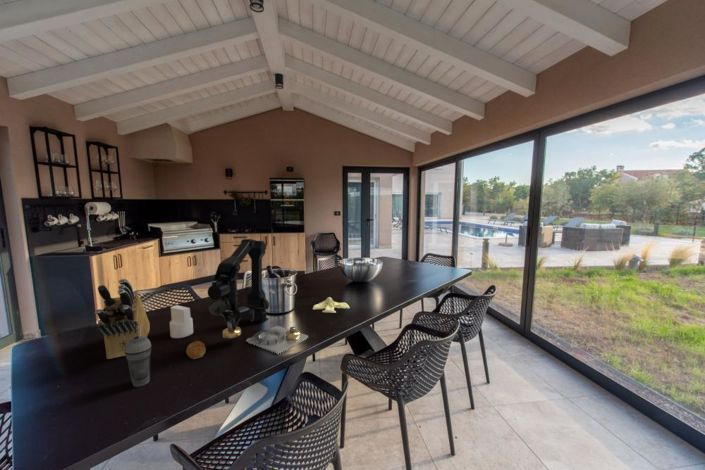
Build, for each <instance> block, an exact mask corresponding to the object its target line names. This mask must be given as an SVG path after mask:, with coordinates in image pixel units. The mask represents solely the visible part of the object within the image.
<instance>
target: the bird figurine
mask: <svg viewBox="0 0 705 470" xmlns="http://www.w3.org/2000/svg"><path fill="white" fill-rule="evenodd" d="M335 308H337V309H350V308H351V307H350V306H349V304H348V303H346V302H337V301H334V300H333V298H332V297H330V296H329V297H326V299H325V300H323V301H322V302H319V303H318V304H316V303H315V304H314V305H313V307H312V310H315V311H316V310H322V313H329V314H330V313H333V314H334V313H337V311H336V310H335Z"/></svg>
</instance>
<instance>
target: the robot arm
mask: <svg viewBox="0 0 705 470" xmlns="http://www.w3.org/2000/svg"><path fill="white" fill-rule="evenodd" d="M266 250H267V244H266V243H265V241H264V240H255V239H252V238H244V239H241V241H240V244H239V245H238V247H237V248H236V249H235V250H234V252H232V254H231V255H230V256H229V257H227V258H225V259H223V260H222V261H221V262H219V264H218V266H217V269H216V271H215V273H214V274H215V275H214V277H213V281H212V282H211V286H209V287H208V288H207V289H208V290H207V296H208V297H209V298H210V299H211V300H212V301H215V302H213V303H212V304H211V305H209V306H208V310H209V312H210V314H211V315H214V316H215V317H218V316H222V317H223V319H224V322H225V324H226V326H227V328H228V322H227V321H228V320H231V322H232V328H233V330H235V329H236V327H238V326H239V323H240V320H241V319H242V318H245V317H247V316H250V315H251V314H252V319H250V320H249V321H250V322H252V323H254V324H257V325H258V324H261V323H264V322H267V321H269V318H268V317H267V311H266V310H269V308H270V302H269V300H268V299H267V298H266V297H267V296H266V292H265V291H264V289H263V258H264V256H265V255H266ZM247 255H248V256H249V258H250V259H251V261H250V262H251V264H250V265H251V268H250V270H251V271H250V272H251V273H250V275H251V277H250V278H251V280H250V281H251V283H250V285H251V288H250V291H249V292H248V293H247V294H246V298H247V299H246V304H247V306H241V303H239V302H238V300H239V298H238V297H240V296H241V295H240V293H238V281H237V280H239V279H240V277H239V276H238V274H239V272H240V270H241V263H242V262H243V260H244V259H245V258H246V257H247ZM216 300H217V301H216Z"/></svg>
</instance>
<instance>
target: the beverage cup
mask: <svg viewBox="0 0 705 470" xmlns="http://www.w3.org/2000/svg"><path fill="white" fill-rule="evenodd" d="M152 348H153V347H152V343H151V341H150V339H149V338H148V337H147V338H146V337H143V336H141V324H139V336H137V337H134V338H132V339H131V340H130V341H129V342H128V343H127V345H126V347H125V355H126V356H125V358H126V360H127V363H128V370H129V375H130V379H131V382H132V386H133V387H136V388H139V387H142V386H143V387H144V386H145V385H147V384H148V383H150V378H151V377H150V376H151V353H152Z"/></svg>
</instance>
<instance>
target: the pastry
mask: <svg viewBox="0 0 705 470" xmlns="http://www.w3.org/2000/svg"><path fill="white" fill-rule="evenodd" d="M206 350H207V348H206V344H205V343H203V342H202V341H199V340H196V341H192V342H191V343H189V345H187V348H186V351H185V352H186V353H185V354H186V355H187V357H189V358H190V359H193V360H196V359H199V358H203V356H204V355H205V354H206Z"/></svg>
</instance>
